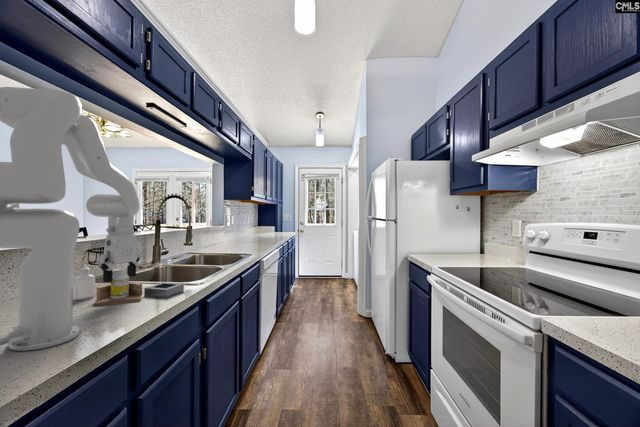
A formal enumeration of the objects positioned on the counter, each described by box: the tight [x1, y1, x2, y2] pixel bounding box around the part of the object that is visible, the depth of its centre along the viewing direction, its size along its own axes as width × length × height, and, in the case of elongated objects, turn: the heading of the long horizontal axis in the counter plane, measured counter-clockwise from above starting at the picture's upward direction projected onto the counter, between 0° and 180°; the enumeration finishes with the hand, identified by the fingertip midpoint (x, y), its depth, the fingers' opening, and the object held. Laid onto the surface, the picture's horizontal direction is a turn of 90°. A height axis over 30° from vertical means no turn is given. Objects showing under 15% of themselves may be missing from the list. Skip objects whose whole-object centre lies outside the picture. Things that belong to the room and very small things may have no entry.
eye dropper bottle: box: [74, 264, 96, 301], centre depth 105 cm, size 4×6×12 cm
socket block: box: [143, 282, 185, 299], centre depth 112 cm, size 10×10×3 cm
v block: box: [93, 281, 143, 307], centre depth 104 cm, size 12×13×5 cm
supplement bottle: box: [110, 268, 130, 299], centre depth 104 cm, size 5×5×10 cm
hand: (120, 278), depth 104 cm, fingers open, 9 cm apart
